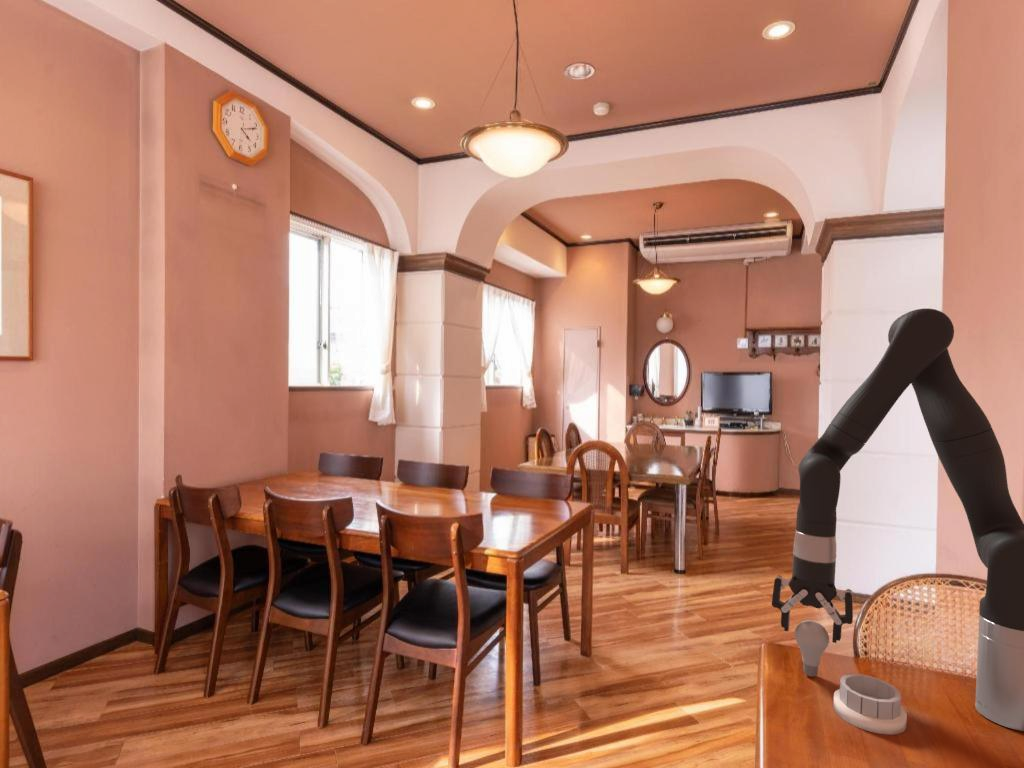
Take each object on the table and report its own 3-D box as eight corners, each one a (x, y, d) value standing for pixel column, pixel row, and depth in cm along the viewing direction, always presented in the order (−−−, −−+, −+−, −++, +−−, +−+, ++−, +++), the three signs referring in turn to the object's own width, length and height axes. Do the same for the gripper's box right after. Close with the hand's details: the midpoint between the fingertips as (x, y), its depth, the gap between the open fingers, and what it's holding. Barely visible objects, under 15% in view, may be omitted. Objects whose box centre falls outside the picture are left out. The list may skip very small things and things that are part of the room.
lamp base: (881, 698, 109) (882, 672, 109) (921, 735, 98) (922, 706, 98) (821, 696, 109) (822, 670, 109) (854, 733, 98) (855, 703, 98)
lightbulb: (832, 686, 113) (834, 629, 113) (798, 682, 114) (800, 626, 114) (822, 670, 119) (824, 616, 119) (789, 666, 120) (791, 613, 120)
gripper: (856, 557, 116) (851, 638, 116) (777, 543, 123) (773, 619, 124) (855, 567, 109) (850, 653, 110) (772, 552, 117) (768, 632, 117)
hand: (810, 635), depth 117 cm, fingers open, 8 cm apart
